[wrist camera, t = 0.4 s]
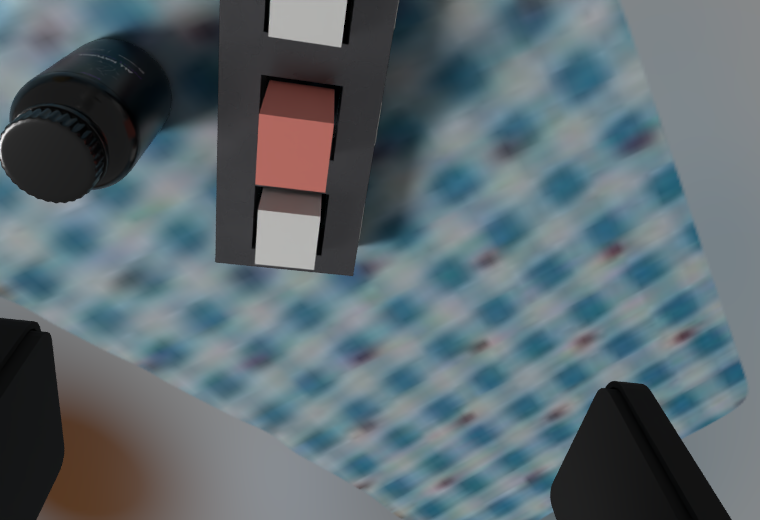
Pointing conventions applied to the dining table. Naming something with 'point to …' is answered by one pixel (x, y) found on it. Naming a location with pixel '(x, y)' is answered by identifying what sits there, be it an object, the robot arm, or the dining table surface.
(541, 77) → the dining table surface
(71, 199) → the supplement bottle
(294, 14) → the button
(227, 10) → the push button control box
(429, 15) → the dining table surface
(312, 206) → the button
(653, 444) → the robot arm
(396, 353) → the dining table surface
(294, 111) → the button
